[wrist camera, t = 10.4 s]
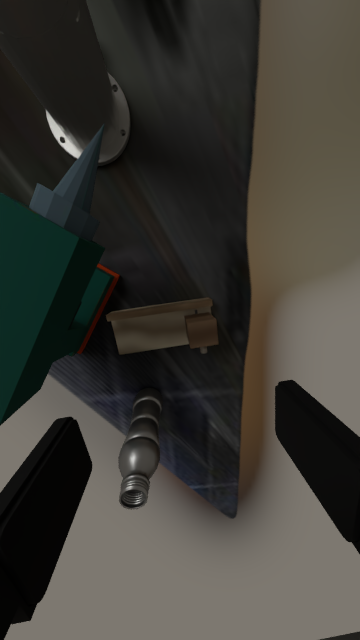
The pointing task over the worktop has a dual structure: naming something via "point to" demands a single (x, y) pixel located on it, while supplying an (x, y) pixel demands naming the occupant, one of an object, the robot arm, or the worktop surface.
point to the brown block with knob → (201, 330)
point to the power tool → (49, 279)
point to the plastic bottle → (140, 449)
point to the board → (154, 325)
